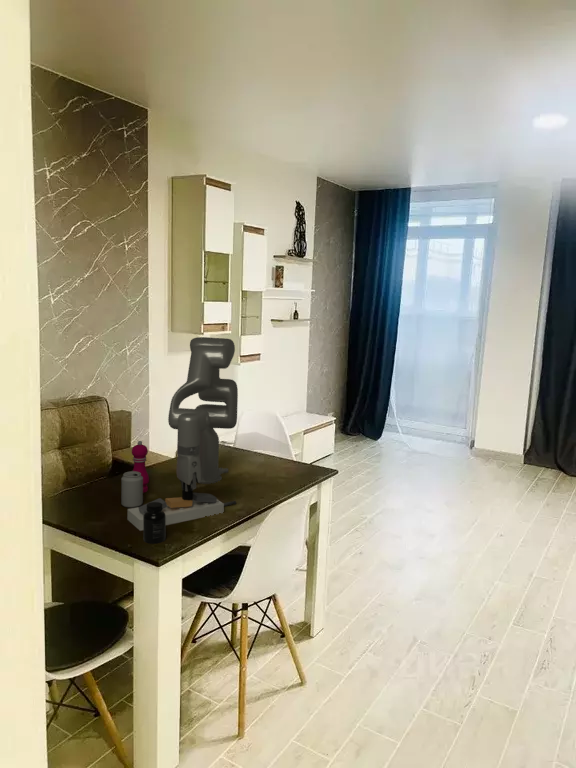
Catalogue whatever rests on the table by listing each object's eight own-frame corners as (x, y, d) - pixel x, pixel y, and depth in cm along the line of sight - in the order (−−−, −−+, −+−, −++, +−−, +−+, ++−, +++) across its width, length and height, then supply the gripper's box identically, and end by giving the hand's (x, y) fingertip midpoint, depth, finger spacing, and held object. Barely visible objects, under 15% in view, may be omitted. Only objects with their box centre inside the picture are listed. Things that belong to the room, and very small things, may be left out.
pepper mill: (125, 491, 230) (125, 441, 227) (138, 486, 237) (138, 437, 234) (140, 495, 227) (140, 444, 224) (152, 490, 234) (153, 440, 230)
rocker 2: (186, 501, 210) (186, 496, 210) (192, 506, 206) (192, 501, 206) (164, 503, 205) (165, 498, 205) (170, 507, 202) (171, 502, 201)
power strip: (227, 500, 226) (228, 489, 225) (242, 510, 217) (243, 498, 216) (127, 520, 203) (127, 507, 202) (139, 531, 194) (140, 518, 194)
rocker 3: (209, 498, 215) (210, 493, 215) (215, 502, 212) (217, 497, 212) (190, 497, 211) (191, 492, 211) (196, 501, 207) (197, 496, 207)
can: (145, 507, 216) (145, 475, 214) (124, 510, 212) (124, 477, 210) (139, 500, 222) (139, 469, 220) (119, 503, 218) (119, 471, 216)
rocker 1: (161, 502, 204) (160, 497, 204) (167, 506, 201) (165, 502, 200) (139, 512, 200) (138, 507, 200) (144, 516, 196) (143, 511, 196)
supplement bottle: (167, 537, 192) (168, 501, 190) (162, 546, 185) (163, 509, 183) (146, 535, 192) (146, 499, 190) (140, 544, 185) (140, 507, 183)
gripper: (208, 453, 201) (207, 506, 204) (188, 443, 213) (187, 492, 216) (188, 456, 196) (187, 510, 199) (168, 445, 208) (168, 496, 211)
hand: (187, 501), depth 207 cm, fingers closed
